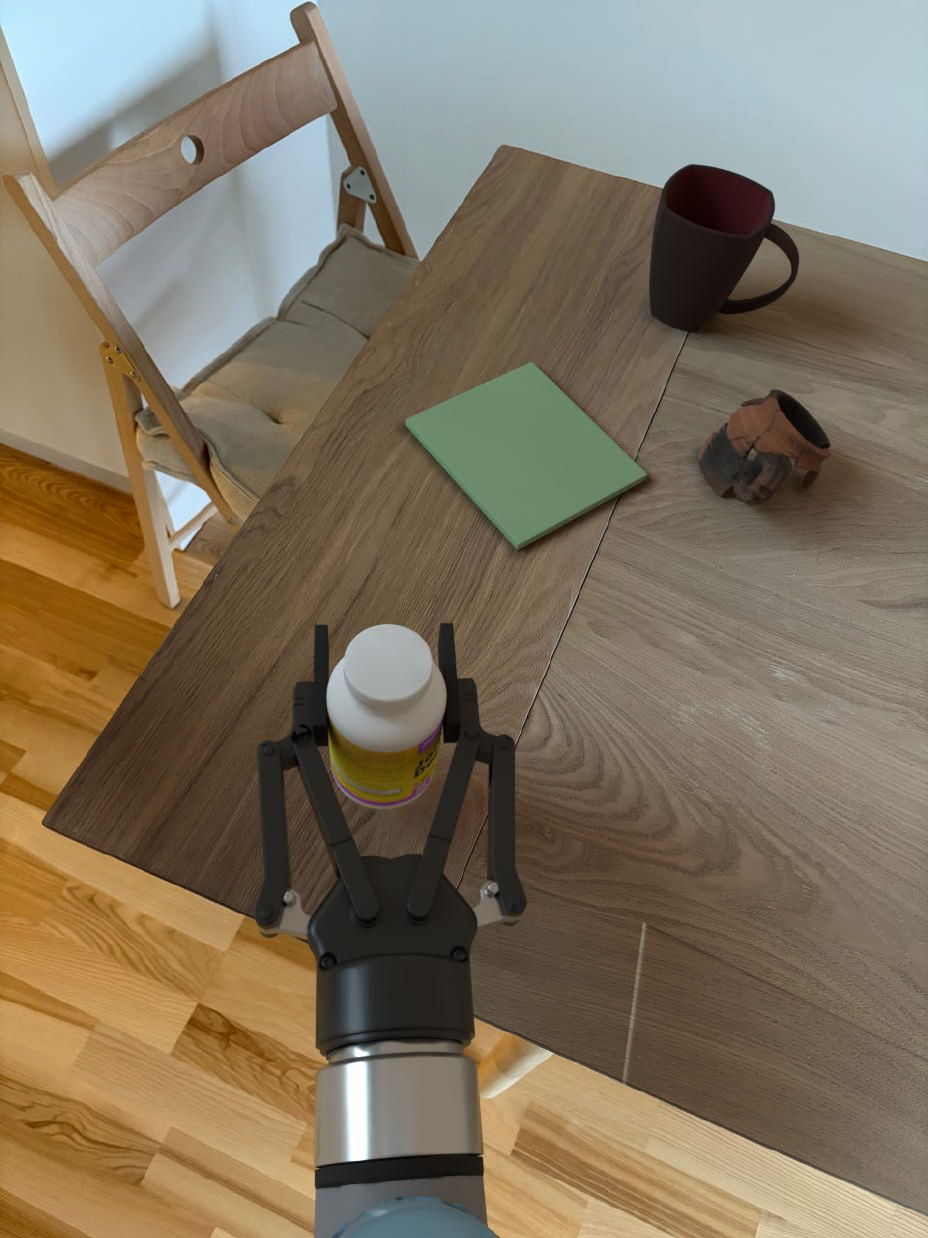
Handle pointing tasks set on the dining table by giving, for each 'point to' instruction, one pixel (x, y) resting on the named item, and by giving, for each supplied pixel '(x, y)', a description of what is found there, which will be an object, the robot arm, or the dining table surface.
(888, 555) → the dining table surface
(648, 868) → the dining table surface
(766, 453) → the pottery mug
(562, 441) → the green mat
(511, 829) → the robot arm
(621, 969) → the dining table surface
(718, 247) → the mug
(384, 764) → the supplement bottle
